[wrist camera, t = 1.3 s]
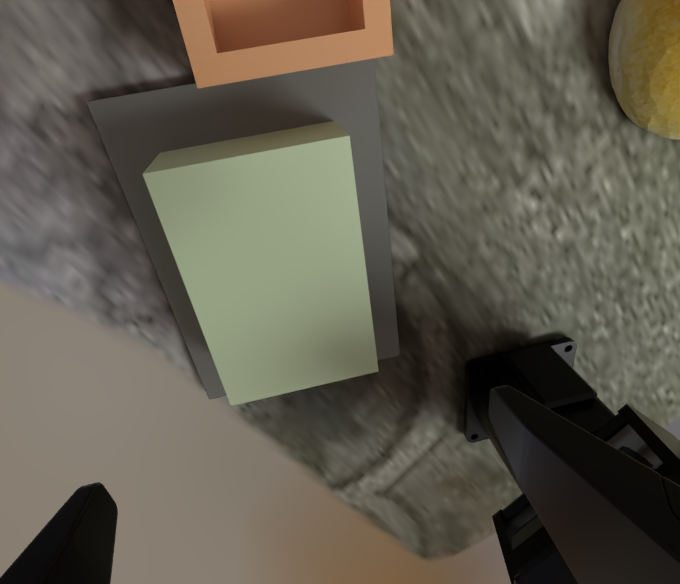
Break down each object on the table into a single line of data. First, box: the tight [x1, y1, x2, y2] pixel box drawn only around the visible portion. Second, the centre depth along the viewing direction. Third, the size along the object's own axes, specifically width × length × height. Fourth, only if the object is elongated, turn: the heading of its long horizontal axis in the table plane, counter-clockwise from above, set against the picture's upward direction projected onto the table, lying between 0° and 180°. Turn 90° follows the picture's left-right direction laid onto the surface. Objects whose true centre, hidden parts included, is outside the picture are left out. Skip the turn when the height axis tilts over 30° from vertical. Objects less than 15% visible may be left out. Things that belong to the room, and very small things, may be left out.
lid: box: [143, 121, 379, 406], centre depth 17 cm, size 10×6×3 cm, turn 8°
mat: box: [86, 58, 400, 399], centre depth 19 cm, size 14×10×1 cm
